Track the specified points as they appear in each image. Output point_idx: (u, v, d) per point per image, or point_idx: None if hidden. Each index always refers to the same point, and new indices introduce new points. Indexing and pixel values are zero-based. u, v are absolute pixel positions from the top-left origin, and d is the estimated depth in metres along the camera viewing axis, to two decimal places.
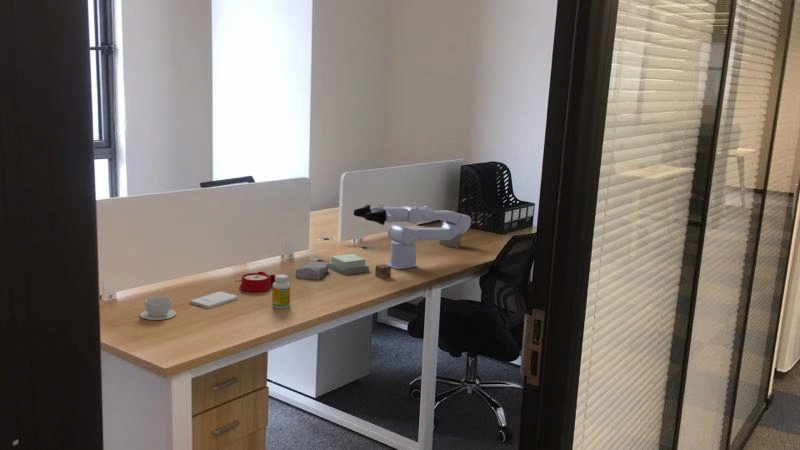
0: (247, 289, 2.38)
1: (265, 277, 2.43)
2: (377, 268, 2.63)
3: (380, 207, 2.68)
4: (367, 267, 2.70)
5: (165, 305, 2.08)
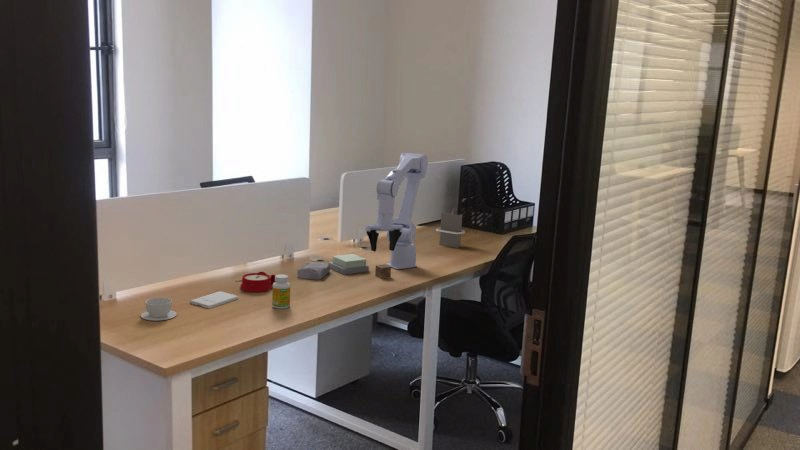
0: (248, 289, 2.38)
1: (266, 277, 2.43)
2: (377, 268, 2.63)
3: (389, 228, 2.59)
4: (367, 267, 2.70)
5: (166, 306, 2.08)
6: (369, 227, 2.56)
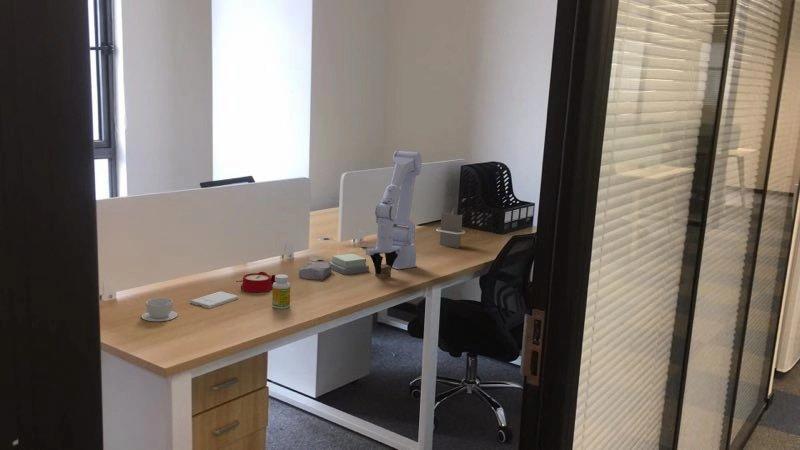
0: (249, 289, 2.37)
1: (266, 277, 2.43)
2: None
3: (389, 251, 2.60)
4: (367, 267, 2.70)
5: (166, 306, 2.07)
6: (369, 251, 2.57)
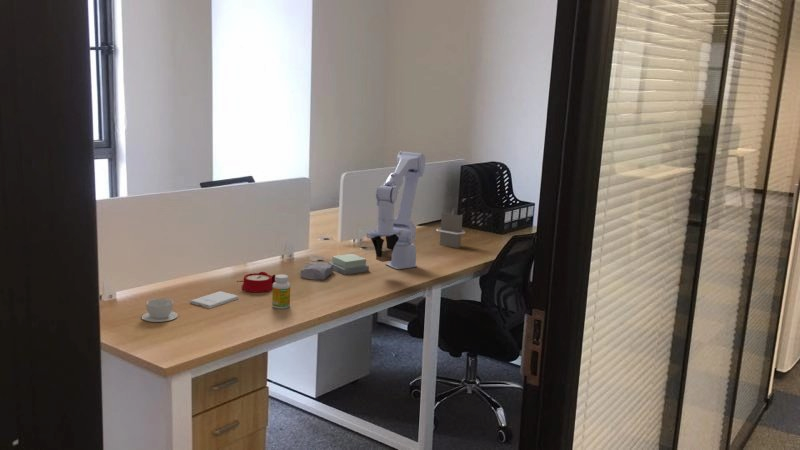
0: (250, 289, 2.37)
1: (267, 277, 2.43)
2: None
3: (390, 234, 2.59)
4: (367, 267, 2.70)
5: (167, 307, 2.07)
6: (370, 234, 2.56)
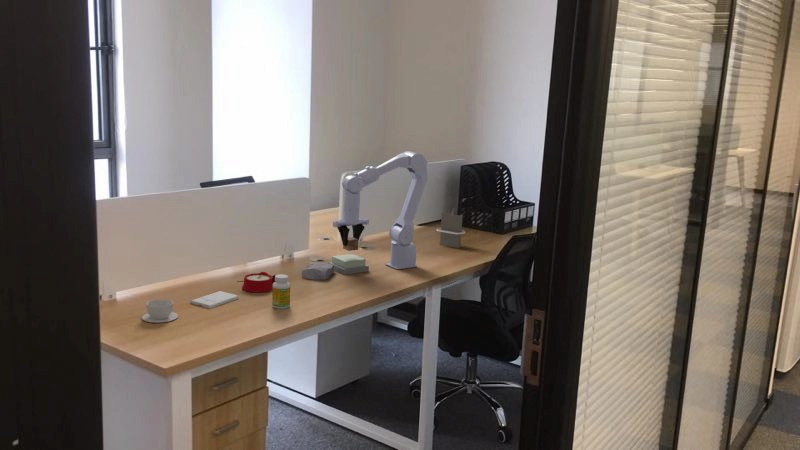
0: (250, 289, 2.37)
1: (267, 277, 2.43)
2: None
3: None
4: (367, 267, 2.70)
5: (167, 308, 2.06)
6: (336, 223, 2.63)
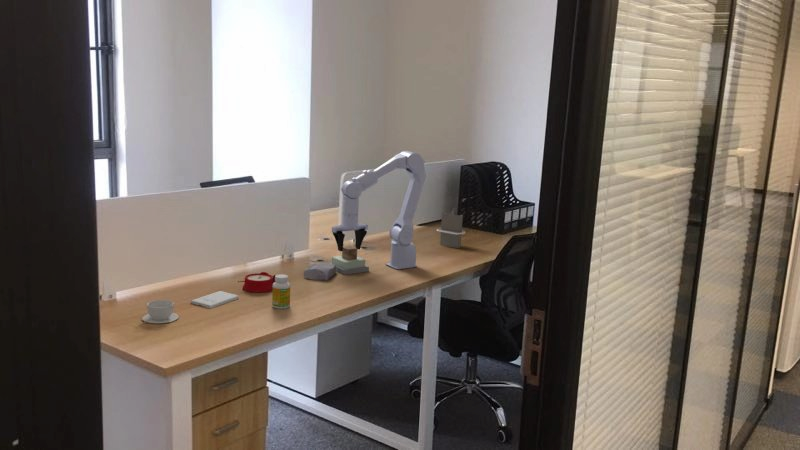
0: (251, 289, 2.37)
1: (268, 277, 2.42)
2: (344, 250, 2.69)
3: (354, 228, 2.66)
4: (367, 267, 2.70)
5: (167, 308, 2.06)
6: (335, 228, 2.63)
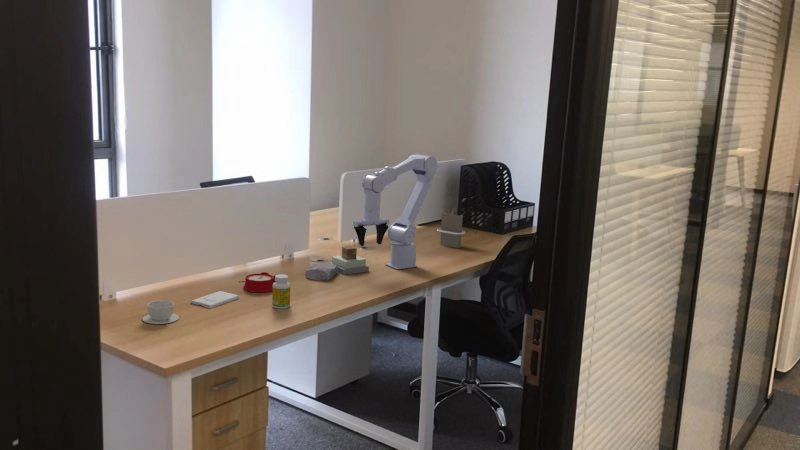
0: (251, 289, 2.37)
1: (269, 278, 2.42)
2: (343, 249, 2.69)
3: (376, 223, 2.63)
4: (367, 267, 2.70)
5: (168, 309, 2.05)
6: (357, 223, 2.61)
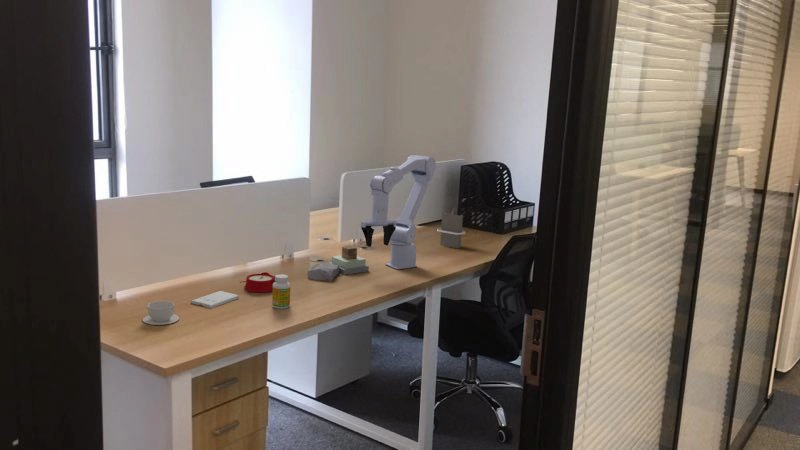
0: (252, 289, 2.37)
1: (270, 278, 2.42)
2: (343, 249, 2.69)
3: None
4: (367, 267, 2.70)
5: (168, 310, 2.05)
6: (364, 223, 2.59)
